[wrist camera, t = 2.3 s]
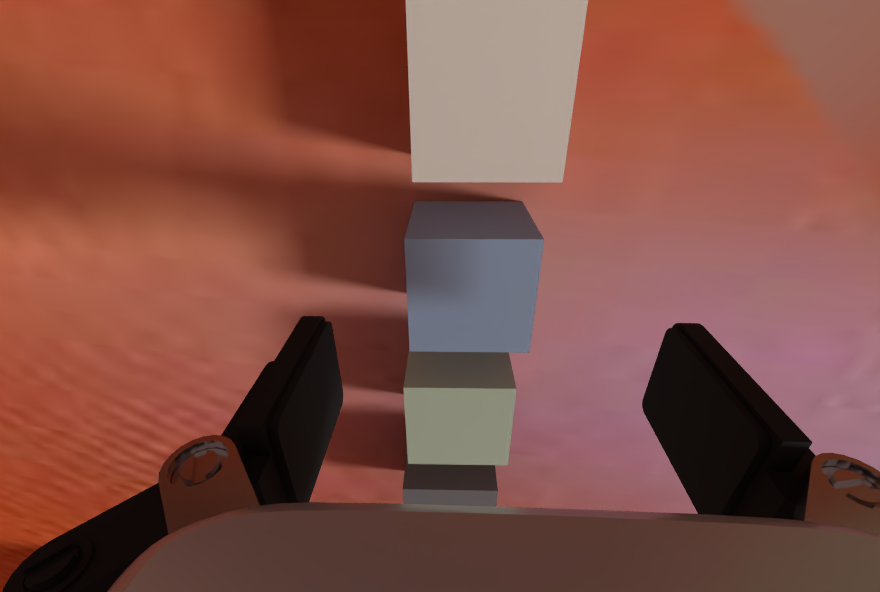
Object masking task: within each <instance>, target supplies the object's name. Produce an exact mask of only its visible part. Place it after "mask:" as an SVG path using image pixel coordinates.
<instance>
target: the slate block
mask: <svg viewBox="0 0 880 592" xmlns="http://www.w3.org/2000/svg"><path fill="white" fill-rule="evenodd" d="M543 244H544V239H543V237H542V235H541V233H540V232H539V230H538V228H537V226H536V225H535V223H534V221H533V219H532V218H531V216H530V214H529V212H528V211H527V209H526V207H525V205H524V204H523V202H522V201H415V202H414V205H413V209H412V212H411V216H410V220H409V223H408V227H407V230H406V234H405V238H404V245H405V266H406V286H407V307H408V328H409V348H410V351H418V352H515V353H529V352H530V344H531V336H532V328H533V321H534V313H535V305H536V298H537V290H538V282H539V274H540V267H541V259H542V251H543Z"/></svg>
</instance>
